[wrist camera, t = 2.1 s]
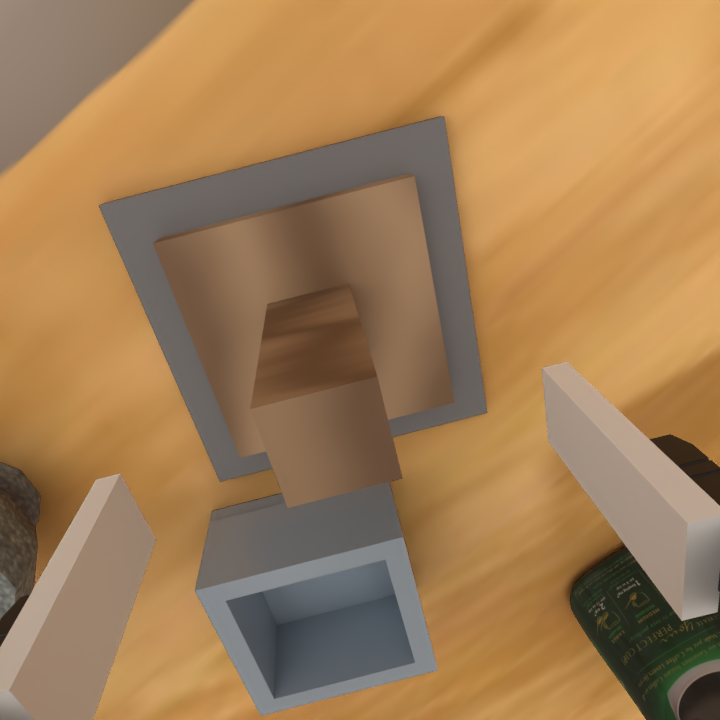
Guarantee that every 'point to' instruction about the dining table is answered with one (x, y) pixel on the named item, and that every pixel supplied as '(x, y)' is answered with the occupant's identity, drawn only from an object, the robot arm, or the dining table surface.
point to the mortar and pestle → (17, 536)
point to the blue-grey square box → (314, 597)
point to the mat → (283, 187)
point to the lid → (316, 331)
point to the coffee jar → (650, 641)
